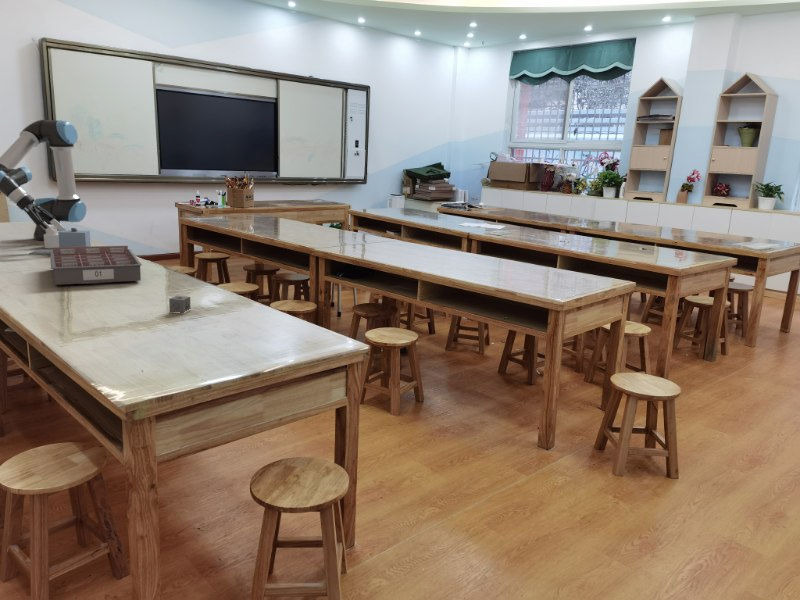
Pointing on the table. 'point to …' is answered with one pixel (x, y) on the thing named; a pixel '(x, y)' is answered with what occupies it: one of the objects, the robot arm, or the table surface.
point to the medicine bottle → (51, 238)
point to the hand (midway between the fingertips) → (58, 231)
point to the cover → (74, 238)
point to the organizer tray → (94, 264)
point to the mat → (41, 252)
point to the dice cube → (179, 304)
